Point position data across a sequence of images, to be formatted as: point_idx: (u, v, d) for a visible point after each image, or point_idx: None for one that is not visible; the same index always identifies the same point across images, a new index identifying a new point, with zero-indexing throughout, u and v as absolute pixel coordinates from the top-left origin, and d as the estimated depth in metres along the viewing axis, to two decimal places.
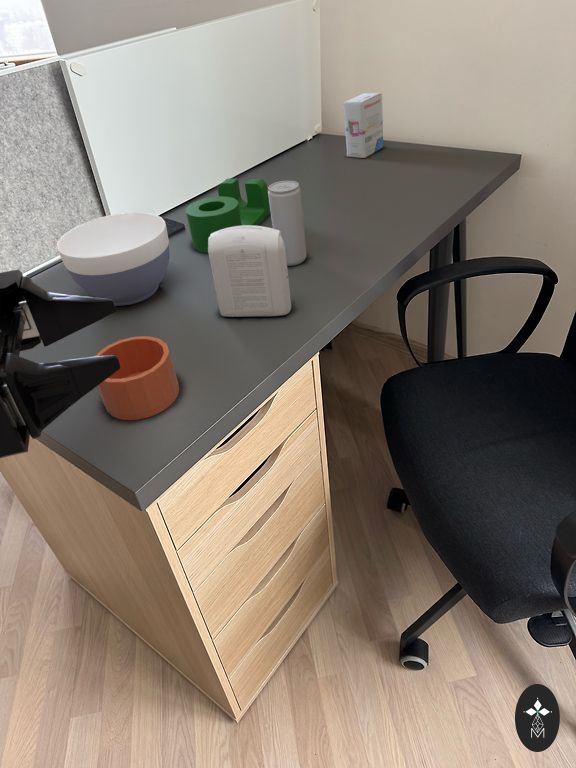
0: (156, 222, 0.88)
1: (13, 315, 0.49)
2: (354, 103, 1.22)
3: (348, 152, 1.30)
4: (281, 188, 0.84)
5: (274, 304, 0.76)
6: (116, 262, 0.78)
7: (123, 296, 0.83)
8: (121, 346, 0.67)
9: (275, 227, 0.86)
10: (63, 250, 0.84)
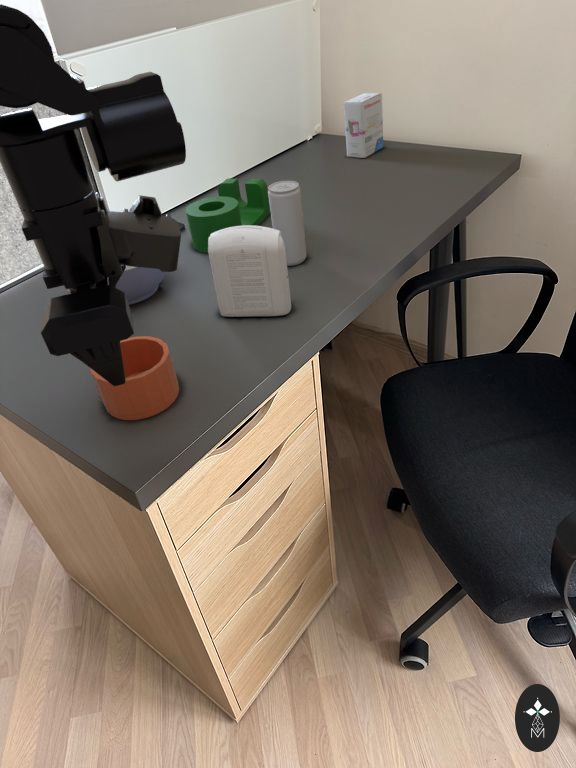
0: None
1: None
2: (354, 103, 1.22)
3: (348, 152, 1.30)
4: (281, 188, 0.84)
5: (274, 304, 0.76)
6: None
7: None
8: (121, 346, 0.67)
9: (275, 227, 0.86)
10: None
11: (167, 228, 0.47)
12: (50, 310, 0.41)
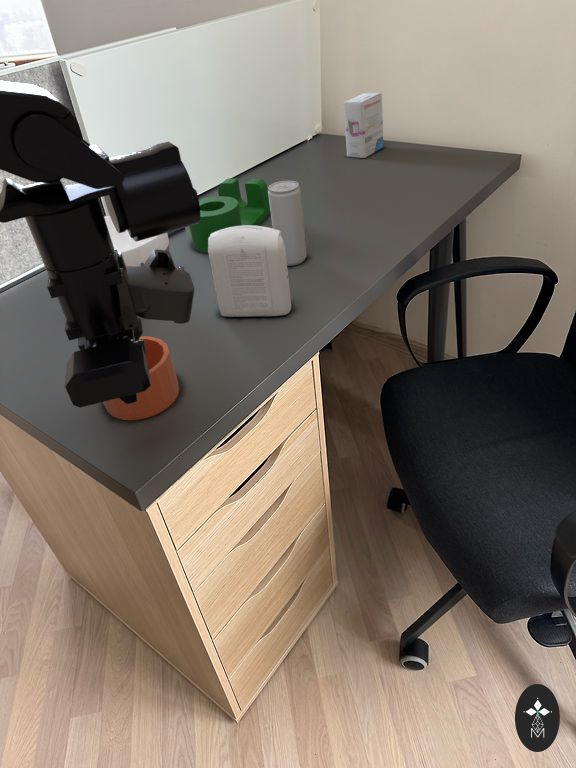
0: None
1: None
2: (354, 103, 1.22)
3: (348, 152, 1.30)
4: (281, 188, 0.84)
5: (274, 304, 0.76)
6: None
7: None
8: None
9: (275, 227, 0.86)
10: None
11: (181, 283, 0.50)
12: (73, 365, 0.44)
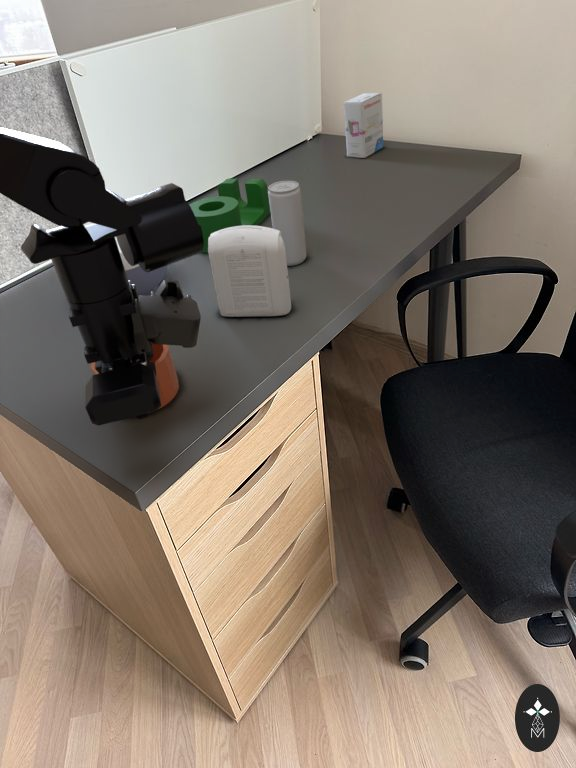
0: None
1: None
2: (354, 103, 1.22)
3: (348, 152, 1.30)
4: (281, 188, 0.84)
5: (274, 304, 0.76)
6: None
7: None
8: None
9: (275, 227, 0.86)
10: None
11: (189, 311, 0.55)
12: (93, 387, 0.49)
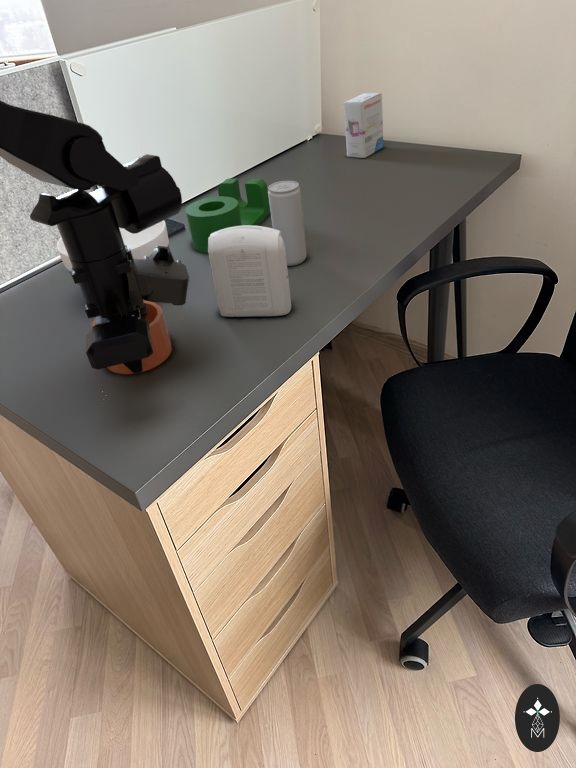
0: None
1: None
2: (354, 103, 1.22)
3: (348, 152, 1.30)
4: (281, 188, 0.84)
5: (274, 304, 0.76)
6: None
7: None
8: None
9: (275, 227, 0.86)
10: (63, 250, 0.84)
11: (178, 272, 0.62)
12: (92, 335, 0.56)
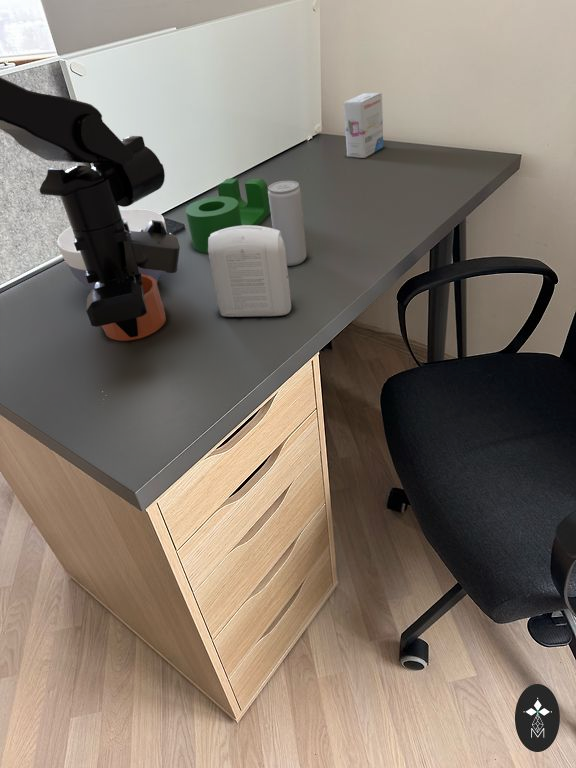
0: (155, 218, 0.89)
1: None
2: (354, 103, 1.22)
3: (348, 152, 1.30)
4: (281, 188, 0.84)
5: (274, 304, 0.76)
6: None
7: None
8: None
9: (275, 227, 0.86)
10: (63, 246, 0.85)
11: (170, 243, 0.68)
12: (92, 296, 0.63)
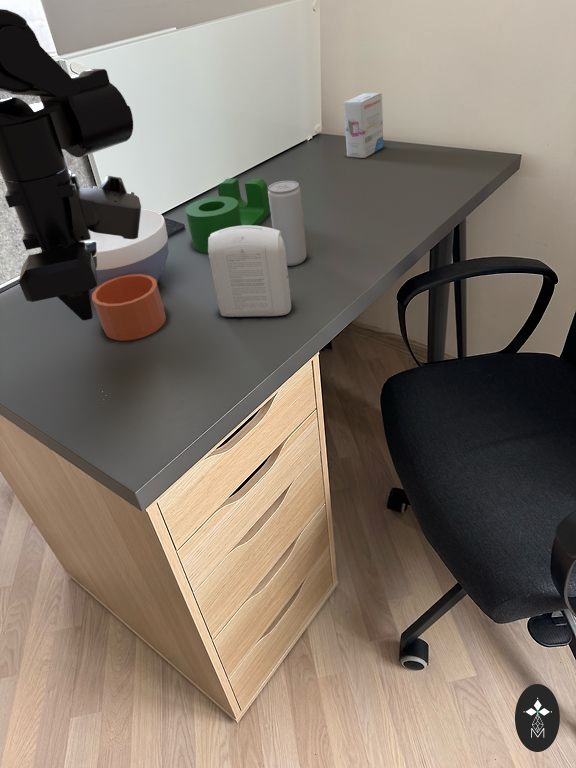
0: (155, 218, 0.89)
1: None
2: (354, 103, 1.22)
3: (348, 152, 1.30)
4: (281, 188, 0.84)
5: (274, 304, 0.76)
6: (117, 257, 0.79)
7: None
8: (118, 281, 0.81)
9: (275, 227, 0.86)
10: None
11: (129, 202, 0.56)
12: (27, 263, 0.50)
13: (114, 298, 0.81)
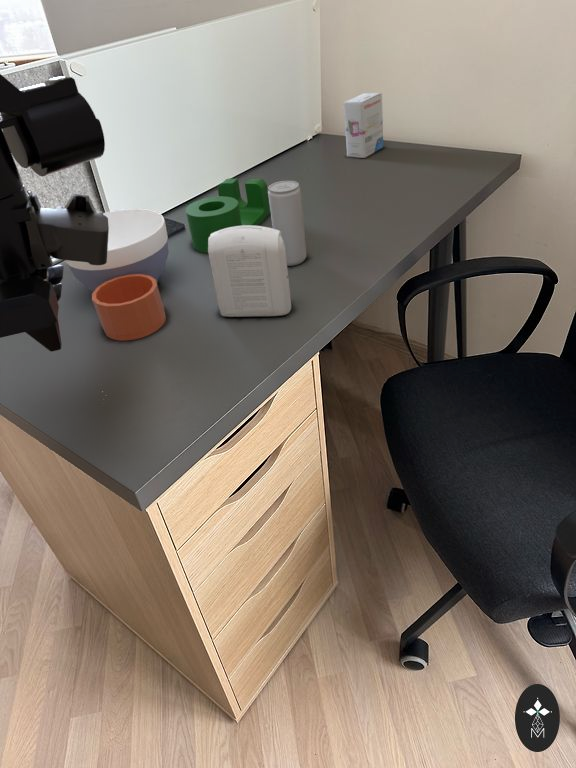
0: (155, 218, 0.89)
1: None
2: (354, 103, 1.22)
3: (348, 152, 1.30)
4: (281, 188, 0.84)
5: (274, 304, 0.76)
6: (117, 257, 0.79)
7: None
8: (118, 281, 0.81)
9: (275, 227, 0.86)
10: None
11: (96, 224, 0.50)
12: None
13: (114, 298, 0.81)
